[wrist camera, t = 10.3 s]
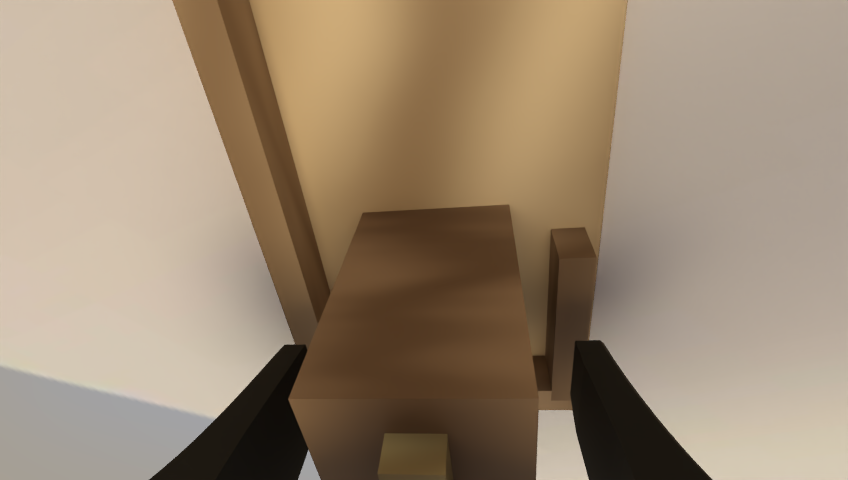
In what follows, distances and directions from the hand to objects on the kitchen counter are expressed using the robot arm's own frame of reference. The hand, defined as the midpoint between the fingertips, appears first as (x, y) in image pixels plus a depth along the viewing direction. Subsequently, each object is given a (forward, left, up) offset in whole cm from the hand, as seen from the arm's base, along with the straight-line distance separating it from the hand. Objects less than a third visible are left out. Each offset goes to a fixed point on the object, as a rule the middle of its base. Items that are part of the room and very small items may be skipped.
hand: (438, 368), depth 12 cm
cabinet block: (0, 0, -4) cm, 4 cm away
